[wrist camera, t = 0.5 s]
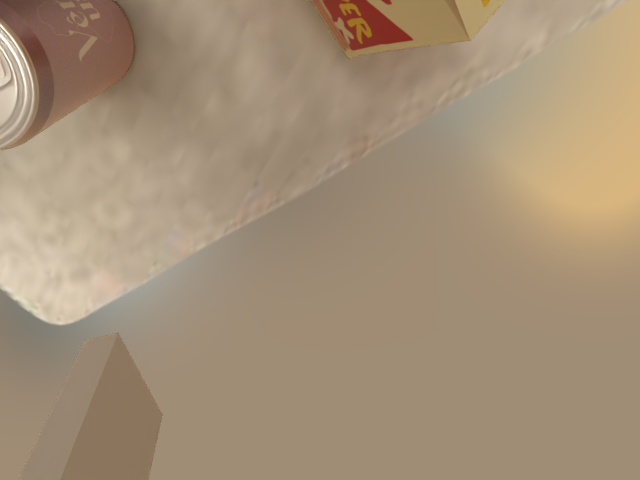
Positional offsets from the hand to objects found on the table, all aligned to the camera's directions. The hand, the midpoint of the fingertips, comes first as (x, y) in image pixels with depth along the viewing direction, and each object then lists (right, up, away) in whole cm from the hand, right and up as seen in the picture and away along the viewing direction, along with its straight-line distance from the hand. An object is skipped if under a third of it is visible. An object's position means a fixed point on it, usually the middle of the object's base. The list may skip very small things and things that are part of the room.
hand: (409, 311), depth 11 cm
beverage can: (-17, +14, +18) cm, 28 cm away
